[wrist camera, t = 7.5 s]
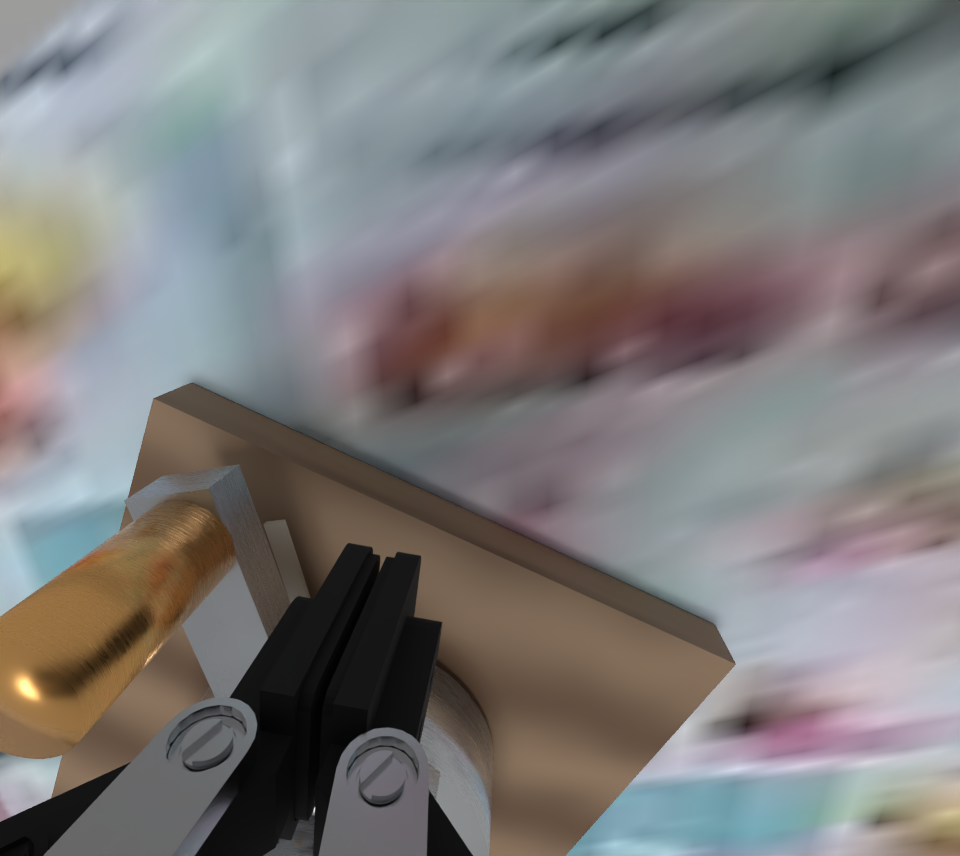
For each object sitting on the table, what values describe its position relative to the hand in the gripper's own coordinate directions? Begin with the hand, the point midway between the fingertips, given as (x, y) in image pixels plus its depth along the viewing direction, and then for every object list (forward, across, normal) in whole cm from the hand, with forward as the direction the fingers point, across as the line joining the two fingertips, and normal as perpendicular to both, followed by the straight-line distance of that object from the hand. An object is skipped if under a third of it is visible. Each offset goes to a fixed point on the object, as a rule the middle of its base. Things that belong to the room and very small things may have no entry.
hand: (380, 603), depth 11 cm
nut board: (+8, +2, +12) cm, 14 cm away
